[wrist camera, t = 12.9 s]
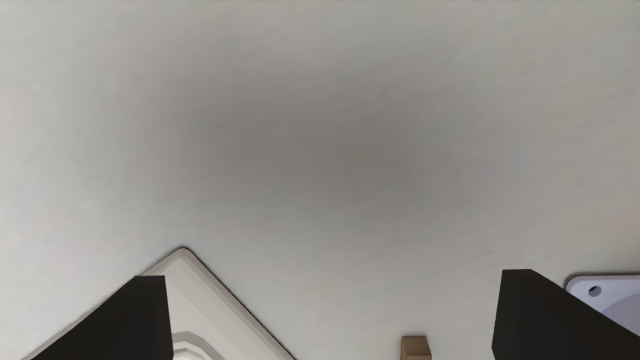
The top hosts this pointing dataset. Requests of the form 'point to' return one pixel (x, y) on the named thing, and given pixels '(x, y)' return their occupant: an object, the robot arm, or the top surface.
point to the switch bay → (415, 349)
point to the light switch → (204, 316)
